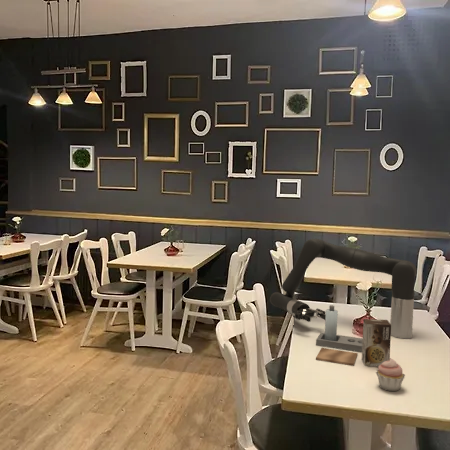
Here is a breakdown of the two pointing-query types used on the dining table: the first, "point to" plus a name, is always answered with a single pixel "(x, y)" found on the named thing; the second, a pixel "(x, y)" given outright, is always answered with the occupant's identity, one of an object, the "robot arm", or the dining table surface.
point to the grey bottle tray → (341, 342)
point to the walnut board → (337, 356)
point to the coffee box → (376, 342)
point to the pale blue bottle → (331, 324)
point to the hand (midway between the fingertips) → (318, 318)
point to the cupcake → (390, 375)
